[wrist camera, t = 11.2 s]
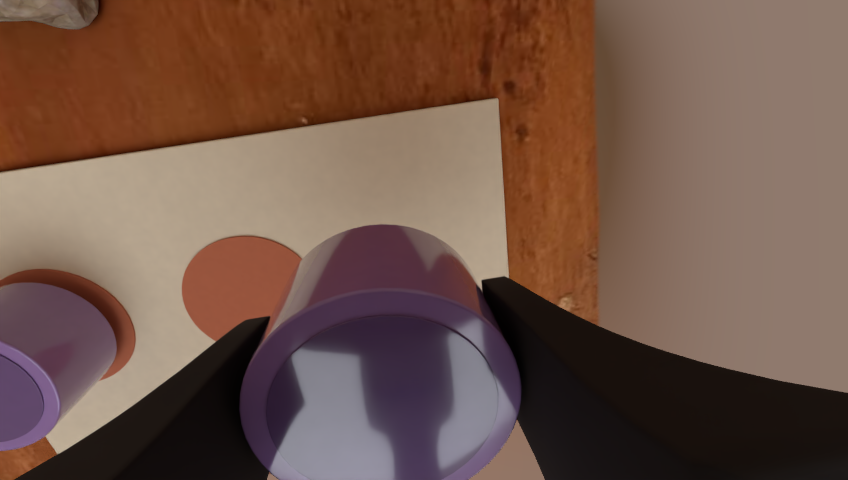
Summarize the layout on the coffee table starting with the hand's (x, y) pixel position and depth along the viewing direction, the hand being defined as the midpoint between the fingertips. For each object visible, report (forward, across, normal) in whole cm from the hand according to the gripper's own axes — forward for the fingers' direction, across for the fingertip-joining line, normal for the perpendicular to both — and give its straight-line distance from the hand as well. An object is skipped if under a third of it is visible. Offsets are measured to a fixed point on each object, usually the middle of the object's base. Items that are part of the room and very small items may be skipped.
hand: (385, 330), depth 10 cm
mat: (+8, +6, +2) cm, 11 cm away
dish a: (+8, +15, +2) cm, 17 cm away
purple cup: (+1, 0, 0) cm, 1 cm away
